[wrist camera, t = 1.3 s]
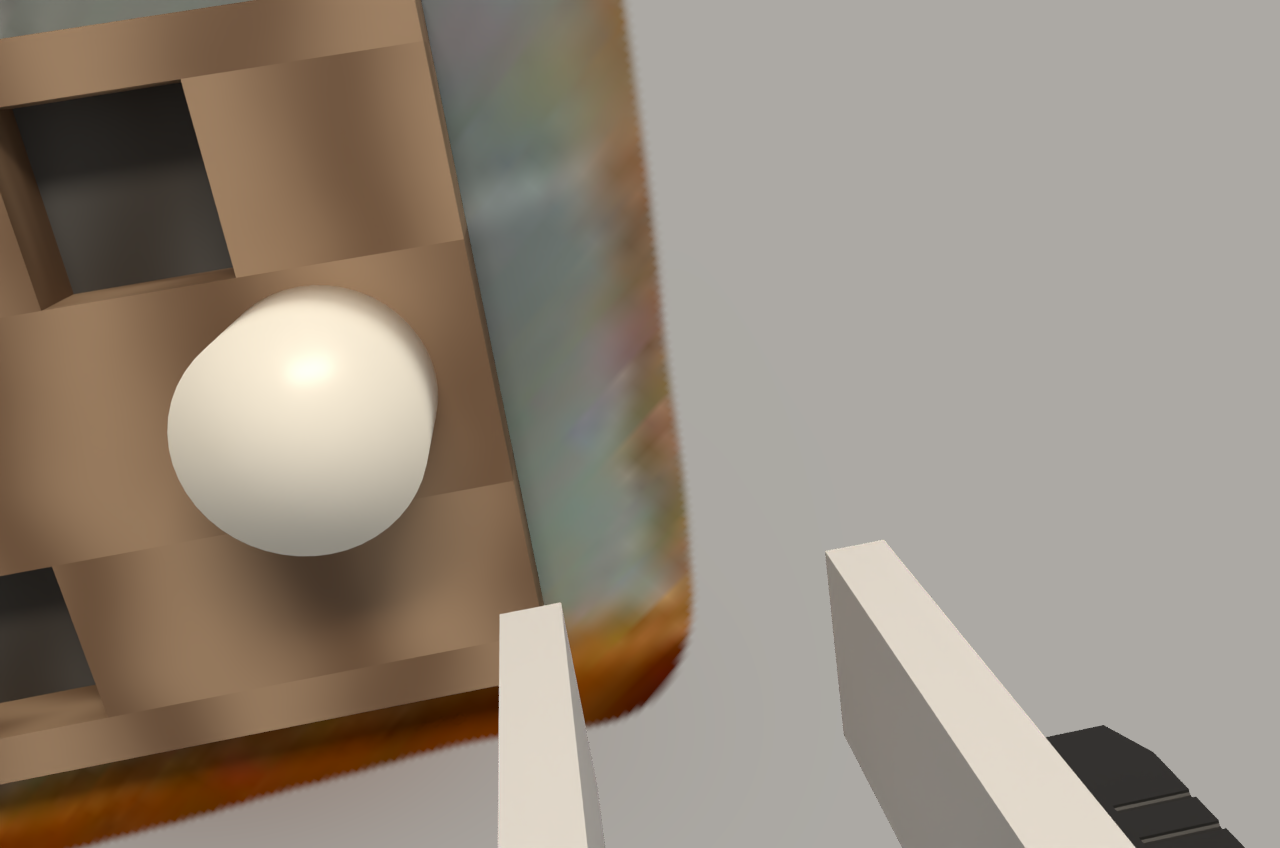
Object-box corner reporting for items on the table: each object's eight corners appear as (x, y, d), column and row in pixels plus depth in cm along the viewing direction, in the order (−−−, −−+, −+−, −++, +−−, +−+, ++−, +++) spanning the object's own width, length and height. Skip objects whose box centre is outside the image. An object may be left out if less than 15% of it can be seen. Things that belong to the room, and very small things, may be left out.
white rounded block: (245, 513, 30) (208, 577, 26) (183, 306, 28) (133, 342, 24) (457, 474, 30) (451, 531, 26) (411, 267, 28) (397, 296, 24)
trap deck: (-205, 781, 33) (-336, 912, 28) (-530, 129, 27) (-780, 142, 22) (550, 634, 35) (557, 731, 30) (417, -15, 28) (398, -36, 23)
